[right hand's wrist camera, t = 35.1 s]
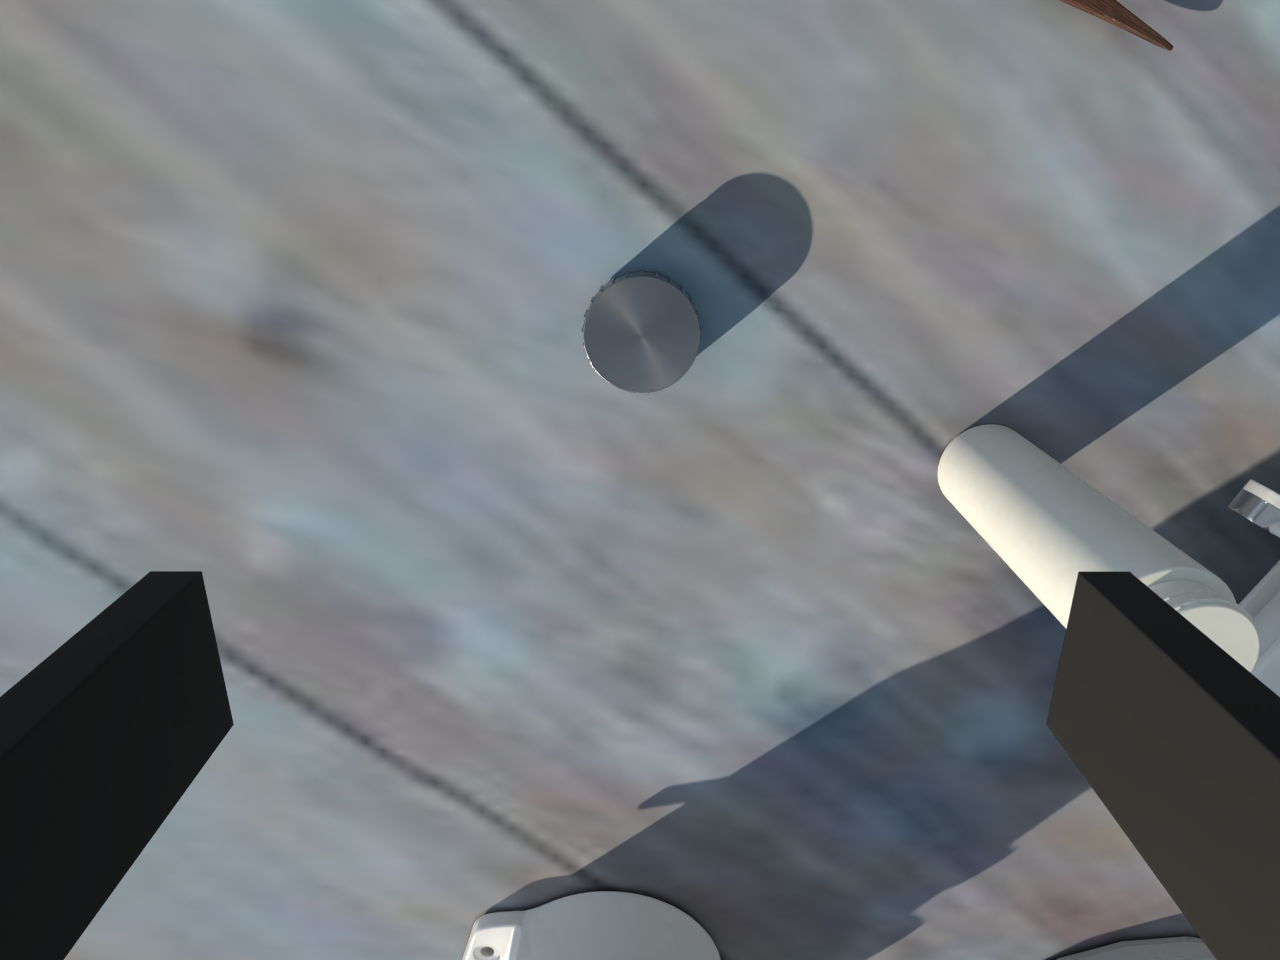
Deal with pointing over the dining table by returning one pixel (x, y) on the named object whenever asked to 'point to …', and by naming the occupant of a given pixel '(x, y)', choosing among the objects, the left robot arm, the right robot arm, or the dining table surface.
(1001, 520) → the off-white tall cylinder
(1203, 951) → the wall clock
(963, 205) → the dining table surface
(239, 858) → the dining table surface
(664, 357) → the lid
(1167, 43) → the fork
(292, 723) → the dining table surface
